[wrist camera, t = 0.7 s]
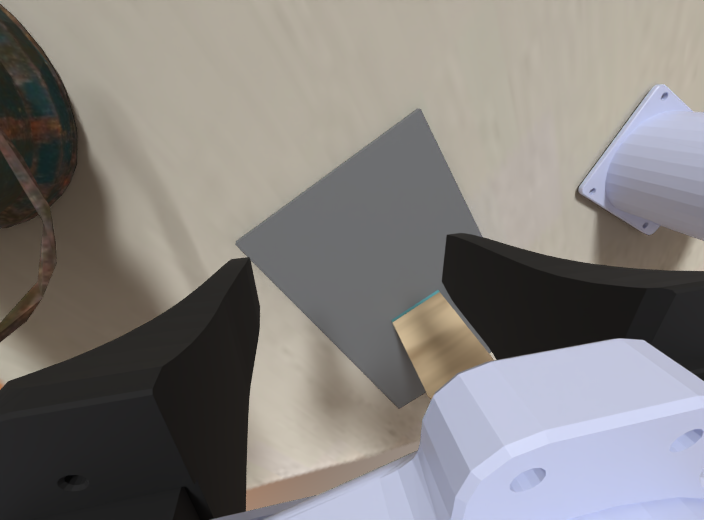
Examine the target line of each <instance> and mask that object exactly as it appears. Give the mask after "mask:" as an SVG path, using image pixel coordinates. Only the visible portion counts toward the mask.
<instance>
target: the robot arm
mask: <svg viewBox="0 0 704 520" xmlns="http://www.w3.org/2000/svg"><path fill="white" fill-rule="evenodd" d="M661 96H662V97H661ZM590 190H591V192H590ZM578 191H579V193H580V194H581V195H583V196H584V197H586V198H588V199H589V200H591V201H592V202H594V203H596V204H597V205H599V206H600V207H602V208H604V209H605V210H607V211H608V212H610V213H612V214H613V215H615V216H617V217H618V218H620V219H621V220H623V221H625V222H626V223H628V224H629V225H631V226H633V227H634V228H636V229H637V230H639V231H641V232H642V233H644V234H647V235H651V234H653V233H654V232H655V231H656V230H657V229H658V228H659V227H660V226H663V227H665V228H668V229H671V230H674V231H677V232H680V233H683V234H685V235H688V236H691V237H694V238H697V239H700V240H703V241H704V112H693V111H692V110H691V109H690V108H689V107H688V106H687V105H686V104H685V103H684V102H683V101H682V100H681V99H680V98H678V97H677V96H676V95H675V94H674V93H673V92H672V91H671V90H670V89H669V88H668V87H667V86H666V85H664V84H658V85H655V86H654V87H653V88H652V89H651V90H650V91H649V93H648V94H647V95H646V97H645V98H644V99H643V101H642V102H641V103H640V105H639V106H638V107H637V109H636V110H635V112H634V113H633V114H632V116H631V117H630V118H629V120H628V121H627V122H626V124H625V125H624V126H623V128H622V129H621V131H620V132H619V133H618V135H617V136H616V137H615V139H614V140H613V141H612V143H611V144H610V145H609V147H608V148H607V150H606V151H605V152H604V154H603V155H602V156H601V158H600V159H599V160H598V162H597V163H596V164H595V166H594V167H593V169H592V170H591V171H590V173H589V174H588V175H587V177H586V178H585V179H584V181H583V182H582V183H581V185H580V186H579V190H578ZM589 192H590V193H589ZM442 283H443V285H444V287H445V289H446V291H447V293H448V294H449V296H450V298H451V299H452V301H453V302H454V304H455V305H456V306H457V308H458V309H459V310H460V312H461V313H462V314H463V316H464V317H465V318H466V319H467V321H468V322H469V323H470V324H471V326H472V327H473V328H474V329H475V331H476V332H477V333H478V334H479V336H480V337H481V338H482V339H483V341H484V342H485V343H486V345H487V346H488V347H489V349H490V350H491V352H492V353H493V354H494V356H495V358H496V359H497V360H494V361H489V362H485V363H483V364H480V365H477V366H475V367H472V368H469V369H467V370H464V371H462V372H459V373H457V374H456V375H455V376H454V377H453V378H451V379H450V380H449V381H448V382H447V383H446V384H444V385H443V386H442V387H441V388H440V389H439V390H437V391H436V392H435V394H434V395H433V397H432V400H431V402H430V404H429V406H428V409H427V411H426V413H425V415H424V417H423V420H422V428H421V439H420V445H419V449H418V451H415V452H413V453H411V454H408V455H406V456H404V457H402V458H400V459H397V460H395V461H393V462H390V463H388V464H386V465H384V466H381V467H379V468H377V469H375V470H372V471H370V472H368V473H366V474H363V475H361V476H359V477H357V478H354V479H352V480H350V481H348V482H345V483H343V484H341V485H339V486H337V487H334V488H332V489H330V490H328V491H325V492H323V493H321V494H319V495H315V496H311V497H307V498H302V499H298V500H293V501H289V502H285V503H281V504H276V505H272V506H267V507H263V508H259V509H254V510H250V511H246V465H247V434H248V411H249V395H250V386H251V379H252V373H253V367H254V361H255V355H256V349H257V343H258V336H259V329H260V305H259V300H258V295H257V290H256V285H255V280H254V275H253V270H252V265H251V261H250V257H247V258H238V259H231V260H230V261H228V262H227V263H226V264H225V265H224V266H222V267H221V268H220V269H219V270H218V271H217V272H216V273H215V274H214V275H212V276H211V277H210V278H209V279H208V280H207V281H206V282H204V283H203V284H202V285H201V286H200V287H198V288H197V289H196V290H194V291H193V292H192V293H191V294H189V295H188V296H187V297H186V298H184V299H183V300H182V301H180V302H179V303H178V304H176V305H175V306H173V307H172V308H170V309H169V310H167V311H166V312H164V313H162V314H161V315H159V316H158V317H156V318H154V319H153V320H151V321H149V322H147V323H146V324H144V325H142V326H140V327H138V328H136V329H134V330H132V331H131V332H129V333H127V334H125V335H123V336H121V337H119V338H117V339H115V340H113V341H111V342H108V343H106V344H104V345H102V346H100V347H98V348H95V349H93V350H90V351H88V352H86V353H83V354H81V355H79V356H76V357H74V358H71V359H69V360H66V361H64V362H61V363H58V364H55V365H53V366H50V367H47V368H44V369H42V370H39V371H36V372H33V373H31V374H28V375H25V376H22V377H19V378H16V379H13V380H10V381H8V382H7V383H6V384H5V385H4V387H3V388H2V389H1V390H0V520H704V271H664V270H648V269H633V268H622V267H613V266H605V265H597V264H590V263H583V262H577V261H572V260H567V259H561V258H556V257H552V256H547V255H543V254H539V253H535V252H532V251H528V250H524V249H520V248H517V247H514V246H510V245H507V244H503V243H500V242H497V241H493V240H490V239H487V238H483V237H480V236H476V235H472V234H467V233H456V234H448V235H447V236H446V245H445V254H444V264H443V273H442Z"/></svg>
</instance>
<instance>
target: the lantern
mask: <svg viewBox="0 0 704 520" xmlns="http://www.w3.org/2000/svg"><path fill="white" fill-rule="evenodd" d="M76 164H77V129H76V125H75V122H74V118H73V115H72V111H71V108H70V105H69V101H68V98H67V95H66V92H65V89H64V86H63V85H62V83H61V81H60V80H59V78H58V76H57V74H56V73H55V71H54V69H53V67H52V66H51V64H50V62H49V61H48V59H47V57H46V56H45V54H44V52H43V51H42V49H41V47H40V46H39V45H38V44H37V43H36V42H35V40H34V39H33V38H32V37H31V36H30V35H29V33H28V32H27V31H26V30H25V29H24V27H23V26H22V25H21V24H20V23H19V22H18V20H17V19H16V18H15V17H14V16H13V15H12V14H11V13H10V12H9V11H8V10H7V9H5V8H4V7H3V6H2V5H1V4H0V228H8V227H11V226H13V225H16V224H19V223H22V222H25V221H28V220H30V219H32V218H34V217H36V216H38V215H39V216H40V217H41V219H42V221H43V222H44V224H43V234H42V244H41V254H40V264H39V274H38V282H37V283H36V284H35V285H34V286H33V287H32V288H31V290H30V291H29V292H28V293H27V294H26V295H25V296H24V297H23V298H22V299H21V301H20V302H19V303H18V304H17V305H16V306H15V307H14V308H13V309H12V311H11V312H10V313H9V314H8V315H7V316H6V317H5V318H4V319H3V320H2V322H1V323H0V342H1V341H2V340H4V339H5V338H6V337H7V336H9V335H10V334H11V333H12V332H14V331H15V330H16V329H17V328H19V327H20V326H21V325H22V324H23V323H25V322H26V321H27V320H28V318H29V317H30V315H31V314H32V312H33V311H34V309H35V308H36V307H37V305H38V304H39V302H40V301H41V299H42V297H43V295H44V292H45V290H46V287H47V285H48V283H49V280H50V278H51V275H52V273H53V270H54V268H55V266H56V263H57V262H56V242H55V236H54V230H53V224H52V217H51V211H50V206H51V205H52V204H53V203H54V202H55V201H56V200H57V199H58V198H59V197H60V196H61V195H62V193H63V192H64V190H65V189H66V188H67V186H68V185H69V183H70V181H71V178H72V175H73V173H74V170H75V167H76Z"/></svg>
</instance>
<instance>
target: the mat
mask: <svg viewBox="0 0 704 520" xmlns="http://www.w3.org/2000/svg"><path fill="white" fill-rule="evenodd" d="M456 233H467V234H472V235H476V236H480V237H482V235H481V233H480V231H479V229H478V227H477V225H476V223H475V221H474V219H473V217H472V214H471V212H470V210H469V208H468V206H467V204H466V202H465V200H464V198H463V196H462V194H461V192H460V190H459V188H458V185H457V183H456V181H455V179H454V177H453V175H452V173H451V171H450V169H449V167H448V165H447V163H446V161H445V159H444V156H443V154H442V152H441V150H440V148H439V146H438V144H437V142H436V140H435V138H434V136H433V134H432V132H431V130H430V127H429V125H428V123H427V121H426V119H425V117H424V115H423V113H422V111H421V109H416V110H415V111H414V112H412V113H411V114H409V115H408V116H407V117H405V118H404V119H403V120H401V121H400V122H399V123H397V124H396V125H394V126H393V127H392V128H390V129H389V130H388V131H386V132H385V133H383V134H382V135H381V136H379V137H378V138H377V139H375V140H374V141H373V142H371V143H370V144H368V145H367V146H366V147H364V148H363V149H362V150H360V151H359V152H358V153H356V154H355V155H353V156H352V157H351V158H349V159H348V160H347V161H345V162H344V163H343V164H341V165H340V166H338V167H337V168H336V169H334V170H333V171H332V172H330V173H329V174H328V175H326V176H325V177H323V178H322V179H321V180H319V181H318V182H317V183H315V184H314V185H312V186H311V187H310V188H308V189H307V190H306V191H304V192H303V193H302V194H300V195H299V196H297V197H296V198H295V199H293V200H292V201H291V202H289V203H288V204H287V205H285V206H284V207H282V208H281V209H280V210H278V211H277V212H276V213H274V214H273V215H272V216H270V217H269V218H267V219H266V220H265V221H263V222H262V223H261V224H259V225H258V226H256V227H255V228H254V229H252V230H251V231H250V232H248V233H247V234H246V235H244V236H243V237H241V238H240V239H239V240H237V241H236V244H235V245H236V246H237V247H238V248H239V249H240V250H241V251H242V252H243V253H244V254H245V255H246V256H247V257H250V260H251V261H252V262H253V263H254V264H255V265H256V266H257V267H258V268H259V269H260V270H261V271H262V272H263V273H264V274H265V275H266V276H267V277H268V278H269V279H270V280H271V281H272V282H273V283H274V284H275V285H276V286H277V287H278V288H279V289H280V290H281V291H282V292H283V293H284V294H285V295H286V296H287V297H288V298H289V299H290V300H291V301H292V302H293V303H294V304H295V305H296V306H297V307H298V308H299V309H300V310H301V311H302V312H303V313H304V314H305V315H306V316H307V317H308V318H309V319H310V320H311V321H312V322H313V323H314V324H315V325H316V326H317V327H318V328H319V329H320V330H321V331H322V332H323V333H324V334H325V335H326V336H327V337H328V338H329V339H330V340H331V341H332V342H333V343H334V344H335V345H336V346H337V347H338V348H339V349H340V350H341V351H342V352H343V353H344V354H345V355H346V356H347V357H348V358H349V359H350V360H351V361H352V362H353V363H354V364H355V365H356V366H357V367H358V368H359V369H360V370H361V371H362V372H363V373H364V374H365V375H366V376H367V377H368V378H369V379H370V380H371V381H372V382H373V383H374V384H375V385H376V386H377V387H378V388H379V389H380V390H381V391H382V392H383V393H384V394H385V395H386V396H387V397H388V398H389V399H390V400H391V401H392V402H393V403H394V404H395V405H396V406H397V407H398V408H401V407H403V406H404V405H406V404H408V403H409V402H411V401H412V400H414V399H416V398H417V397H419V396H421V395H422V394H424V393H425V392H426V390H425V388H424V386H423V384H422V382H421V380H420V378H419V376H418V374H417V372H416V370H415V368H414V366H413V364H412V362H411V360H410V358H409V356H408V353H407V351H406V349H405V347H404V345H403V343H402V341H401V339H400V337H399V335H398V333H397V331H396V329H395V327H394V325H393V323H392V321H391V320H393V319H394V318H396V317H397V316H399V315H400V314H402V313H403V312H405V311H406V310H408V309H409V308H411V307H412V306H414V305H415V304H417V303H419V302H420V301H422V300H423V299H425V298H426V297H428V296H429V295H431V294H432V293H434V292H435V291H437V290H439V292H440V293H441V294H442V295H443V297H444V298H445V299H446V300H447V302H448V303H449V304H450V305H451V307H452V308H453V309H454V310H455V312H456V313H457V314H458V315H459V317H460V318H461V319H462V320H463V322H464V323H465V324H466V325H467V327H468V328H469V329H470V330H471V332H472V333H473V334H474V335H475V337H476V338H477V339H478V340H479V342H480V343H481V344H482V345H483V347H484V348H485V349H486V350H487V352H488V353H491V350H490V349H489V347H488V346H487V345H486V343H485V342H484V341H483V339H482V338H481V337H480V336H479V334H478V333H477V332H476V331H475V329H474V328H473V327H472V326H471V324H470V323H469V322H468V321H467V319H466V318H465V317H464V316H463V314H462V313H461V312H460V310H459V309H458V308H457V306H456V305H455V304H454V302H453V301H452V299H451V298H450V296H449V294H448V293H447V291H446V289H445V287H444V285H443V283H442V273H443V264H444V254H445V245H446V236H447V235H448V234H456Z"/></svg>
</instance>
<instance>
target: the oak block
mask: <svg viewBox="0 0 704 520" xmlns="http://www.w3.org/2000/svg"><path fill="white" fill-rule="evenodd" d="M391 321H392V323H393V325H394V327H395V329H396V331H397V333H398V335H399V337H400V339H401V341H402V343H403V345H404V347H405V349H406V351H407V353H408V356H409V358H410V360H411V362H412V364H413V366H414V368H415V370H416V372H417V374H418V376H419V378H420V380H421V382H422V384H423V386H424V388H425V390H426V393H427V395H428V397H429V398H430V399H431V400H432V397H433V395H434V394H435V392H436V391H437V390H439V389H440V388H441V387H442V386H443V385H444V384H446V383H447V382H448V381H449V380H450V379H451V378H453V377H454V376H455V375H456V374H457V373H459V372H462V371H464V370H467V369H469V368H472V367H475V366H477V365H480V364H483V363H485V362H489V361H494V360H493V358H492V357H491V355H490V354H489V353H488V352H487V350H486V349H485V348H484V347H483V345H482V344H481V343H480V342H479V340H478V339H477V338H476V337H475V335H474V334H473V333H472V332H471V330H470V329H469V328H468V327H467V325H466V324H465V323H464V322H463V320H462V319H461V318H460V317H459V315H458V314H457V313H456V312H455V310H454V309H453V308H452V307H451V305H450V304H449V303H448V302H447V300H446V299H445V298H444V297H443V295H442V294H441V293H440V292H439V290H437V291H435V292H434V293H432V294H431V295H429V296H428V297H426V298H425V299H423V300H422V301H420V302H419V303H417V304H415V305H414V306H412V307H411V308H409V309H408V310H406V311H405V312H403V313H402V314H400V315H399V316H397V317H396V318H394V319H393V320H391Z"/></svg>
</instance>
